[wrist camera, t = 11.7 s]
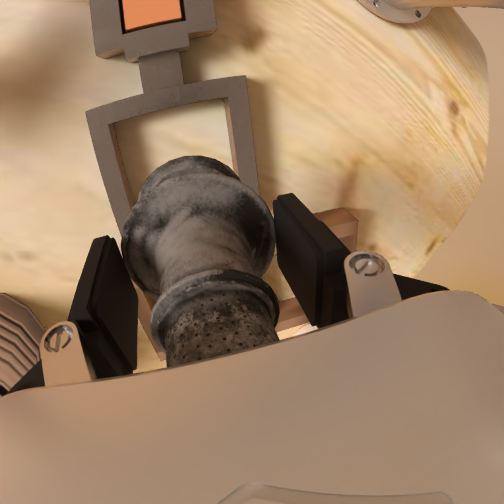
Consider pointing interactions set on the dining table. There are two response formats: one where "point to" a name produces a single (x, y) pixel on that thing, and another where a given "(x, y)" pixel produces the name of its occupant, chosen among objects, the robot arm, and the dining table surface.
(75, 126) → the dining table surface
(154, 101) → the grey flat frame piece
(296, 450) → the robot arm
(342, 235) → the walnut rack
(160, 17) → the button
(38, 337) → the can
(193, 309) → the chess piece
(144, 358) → the dining table surface
